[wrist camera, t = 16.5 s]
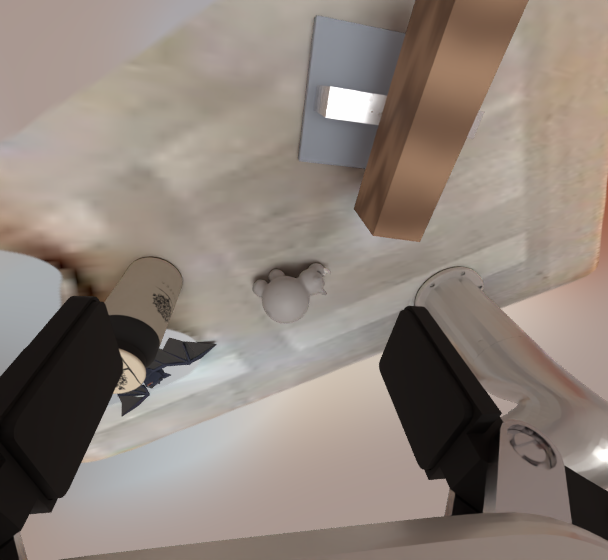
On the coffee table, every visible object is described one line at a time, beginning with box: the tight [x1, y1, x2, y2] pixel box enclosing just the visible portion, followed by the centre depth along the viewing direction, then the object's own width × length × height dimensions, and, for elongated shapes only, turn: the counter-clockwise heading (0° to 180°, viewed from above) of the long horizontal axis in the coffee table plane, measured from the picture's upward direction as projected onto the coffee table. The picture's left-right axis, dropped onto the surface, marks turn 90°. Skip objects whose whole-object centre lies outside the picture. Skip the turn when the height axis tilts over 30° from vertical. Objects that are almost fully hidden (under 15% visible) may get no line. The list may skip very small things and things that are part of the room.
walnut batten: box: [354, 0, 529, 242], centre depth 26 cm, size 20×5×7 cm, turn 169°
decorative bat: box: [118, 338, 217, 416], centre depth 56 cm, size 30×4×10 cm
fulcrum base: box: [298, 15, 406, 169], centre depth 36 cm, size 14×18×2 cm
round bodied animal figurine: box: [253, 263, 331, 323], centre depth 46 cm, size 7×12×8 cm, turn 109°
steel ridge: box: [314, 85, 484, 139], centre depth 32 cm, size 2×16×8 cm, turn 82°
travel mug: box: [104, 257, 182, 394], centre depth 39 cm, size 8×8×18 cm
